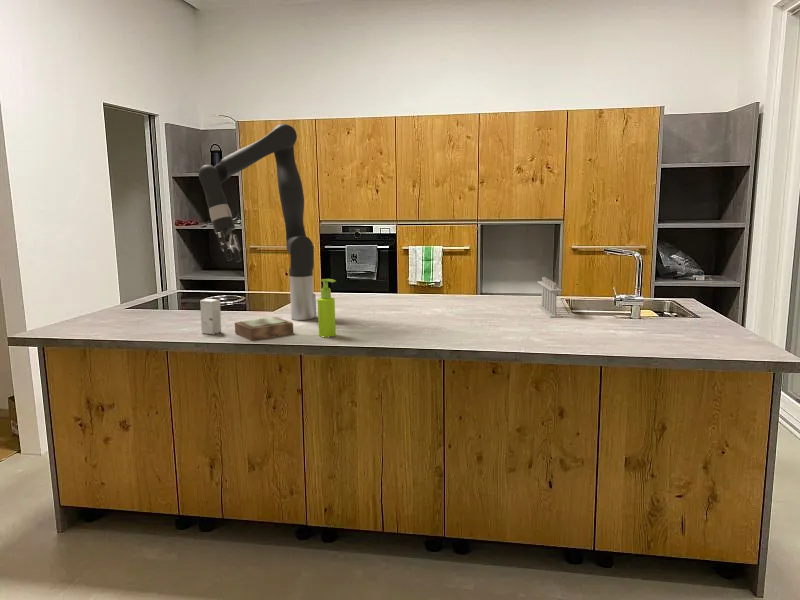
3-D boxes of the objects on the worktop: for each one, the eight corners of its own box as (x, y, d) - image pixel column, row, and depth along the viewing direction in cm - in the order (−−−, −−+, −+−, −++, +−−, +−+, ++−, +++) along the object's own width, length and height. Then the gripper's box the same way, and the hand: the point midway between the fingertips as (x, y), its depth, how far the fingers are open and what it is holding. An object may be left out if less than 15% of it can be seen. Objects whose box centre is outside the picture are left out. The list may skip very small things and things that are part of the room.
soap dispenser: (331, 338, 211) (329, 280, 208) (315, 336, 215) (313, 279, 211) (341, 335, 216) (339, 278, 213) (325, 333, 220) (323, 277, 216)
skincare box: (201, 333, 223) (198, 300, 221) (210, 330, 227) (208, 298, 225) (213, 334, 220) (211, 301, 218) (222, 332, 224) (220, 299, 222)
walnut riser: (276, 327, 231) (275, 315, 230) (293, 333, 220) (292, 321, 219) (235, 333, 221) (234, 321, 220) (251, 340, 210) (250, 327, 209)
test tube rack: (561, 318, 240) (562, 284, 238) (550, 318, 241) (551, 284, 238) (546, 306, 265) (547, 276, 263) (536, 306, 265) (537, 276, 263)
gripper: (223, 213, 219) (236, 256, 219) (238, 218, 233) (250, 259, 233) (204, 219, 220) (217, 263, 220) (220, 224, 234) (232, 264, 234)
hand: (234, 260), depth 226 cm, fingers open, 8 cm apart
